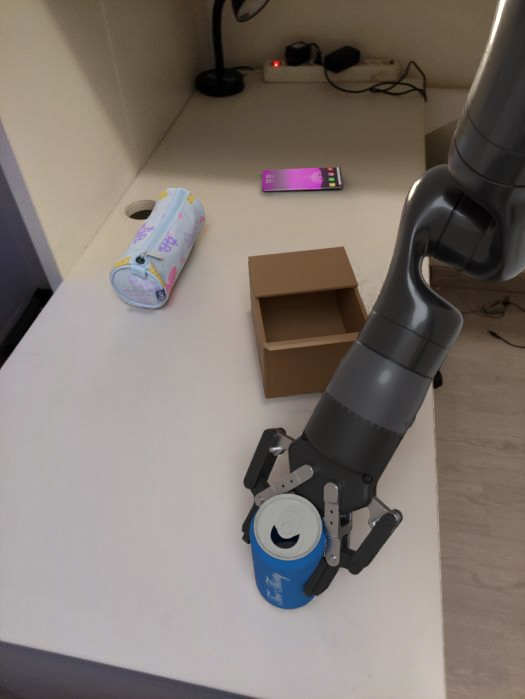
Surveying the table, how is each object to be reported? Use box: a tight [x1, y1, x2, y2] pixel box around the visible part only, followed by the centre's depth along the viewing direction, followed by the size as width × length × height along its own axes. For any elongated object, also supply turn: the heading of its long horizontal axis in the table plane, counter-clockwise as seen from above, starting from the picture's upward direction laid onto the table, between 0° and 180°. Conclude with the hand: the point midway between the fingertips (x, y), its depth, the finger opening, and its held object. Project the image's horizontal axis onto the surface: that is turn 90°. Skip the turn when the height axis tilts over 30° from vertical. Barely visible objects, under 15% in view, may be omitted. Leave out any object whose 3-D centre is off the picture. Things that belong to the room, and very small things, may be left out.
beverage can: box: [249, 493, 326, 610], centre depth 49 cm, size 6×6×12 cm
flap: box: [263, 332, 359, 351], centre depth 57 cm, size 8×13×1 cm
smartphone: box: [261, 166, 344, 193], centre depth 102 cm, size 7×15×1 cm, turn 89°
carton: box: [247, 246, 369, 400], centre depth 70 cm, size 16×13×10 cm
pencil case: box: [109, 187, 206, 310], centre depth 82 cm, size 21×9×10 cm, turn 166°
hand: (278, 565), depth 48 cm, fingers closed on beverage can, 6 cm apart
